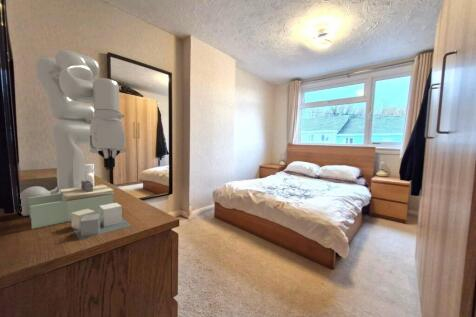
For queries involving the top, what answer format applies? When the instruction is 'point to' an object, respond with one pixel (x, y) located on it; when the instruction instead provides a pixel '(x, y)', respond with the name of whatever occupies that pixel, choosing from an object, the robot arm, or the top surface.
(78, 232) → the mat
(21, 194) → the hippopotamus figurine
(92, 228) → the light grey cube
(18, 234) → the top surface
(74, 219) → the beige cube
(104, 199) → the bin
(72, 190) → the lid
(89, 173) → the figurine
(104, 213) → the white stacked cube
